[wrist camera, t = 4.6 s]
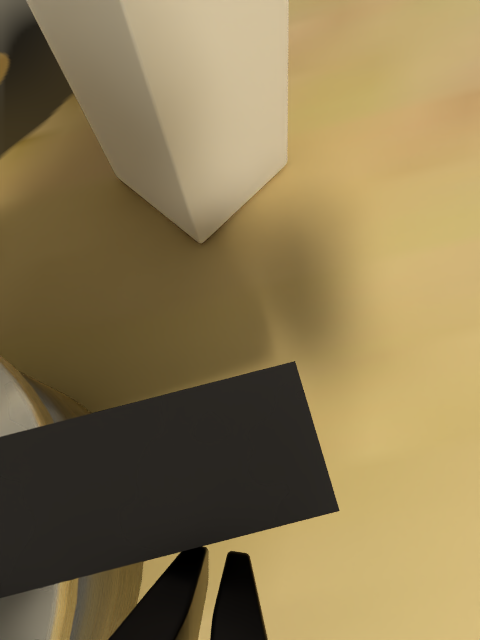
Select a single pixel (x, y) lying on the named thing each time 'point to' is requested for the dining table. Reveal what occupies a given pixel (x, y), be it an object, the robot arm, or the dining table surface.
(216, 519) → the cooker lid
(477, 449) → the dining table surface
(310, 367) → the dining table surface
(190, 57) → the milk carton
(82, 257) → the dining table surface
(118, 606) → the cooker pot
